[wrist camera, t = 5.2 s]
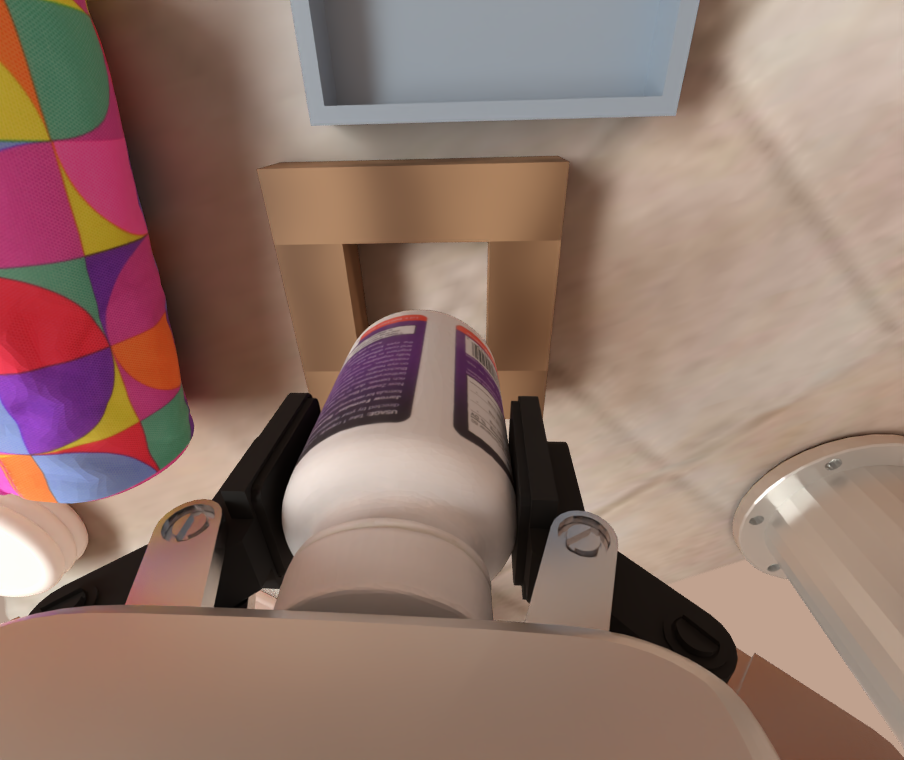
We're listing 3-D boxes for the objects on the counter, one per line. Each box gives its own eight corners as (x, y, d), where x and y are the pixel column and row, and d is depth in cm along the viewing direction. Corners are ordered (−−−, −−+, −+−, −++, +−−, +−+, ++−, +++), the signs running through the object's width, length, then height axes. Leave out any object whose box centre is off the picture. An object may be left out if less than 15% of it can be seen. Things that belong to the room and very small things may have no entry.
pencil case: (-159, -105, 15) (-792, -322, 8) (109, -89, 15) (-255, -288, 8) (83, 405, 27) (-73, 524, 19) (237, 415, 27) (143, 538, 19)
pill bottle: (340, 418, 17) (221, 708, 9) (359, 288, 14) (211, 527, 6) (475, 446, 18) (486, 745, 9) (518, 326, 15) (588, 593, 6)
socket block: (558, 155, 19) (569, 161, 16) (536, 392, 25) (542, 418, 23) (280, 162, 19) (256, 169, 17) (327, 392, 25) (314, 418, 23)
